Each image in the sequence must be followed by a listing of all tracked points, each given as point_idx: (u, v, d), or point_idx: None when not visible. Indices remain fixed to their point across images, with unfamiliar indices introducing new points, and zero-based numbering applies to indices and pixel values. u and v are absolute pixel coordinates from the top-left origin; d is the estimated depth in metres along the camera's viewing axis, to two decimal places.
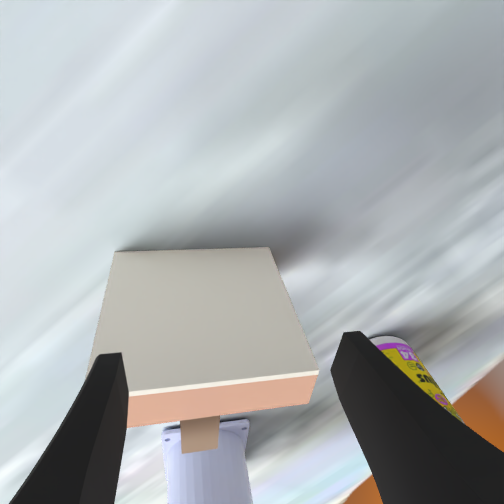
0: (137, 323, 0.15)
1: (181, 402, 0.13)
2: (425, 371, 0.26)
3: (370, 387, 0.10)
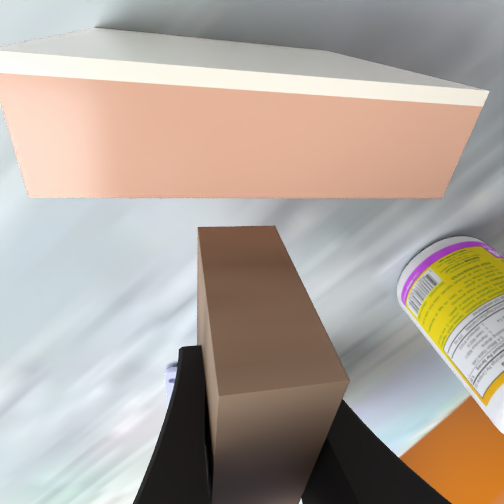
0: (126, 43, 0.08)
1: (216, 133, 0.06)
2: None
3: None
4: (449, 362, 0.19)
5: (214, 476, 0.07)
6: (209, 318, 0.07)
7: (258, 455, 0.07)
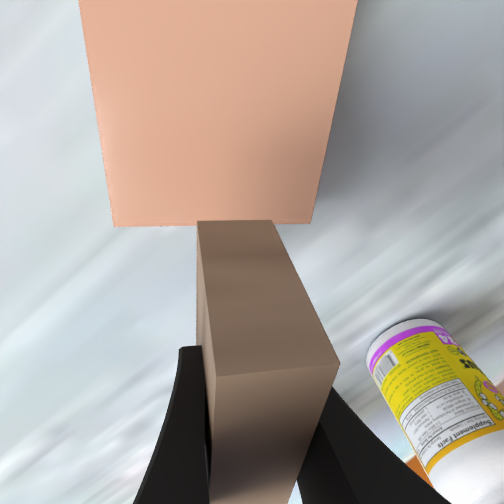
0: None
1: None
2: (467, 356, 0.23)
3: None
4: (404, 432, 0.23)
5: (212, 456, 0.08)
6: (207, 306, 0.08)
7: (254, 436, 0.08)
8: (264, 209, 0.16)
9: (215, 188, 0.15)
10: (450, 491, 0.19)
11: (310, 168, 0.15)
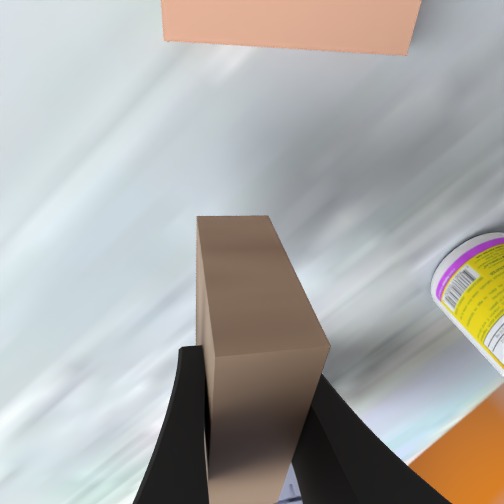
0: None
1: None
2: None
3: None
4: (489, 355, 0.19)
5: (211, 436, 0.08)
6: (207, 294, 0.08)
7: (250, 417, 0.08)
8: (353, 25, 0.12)
9: None
10: None
11: None
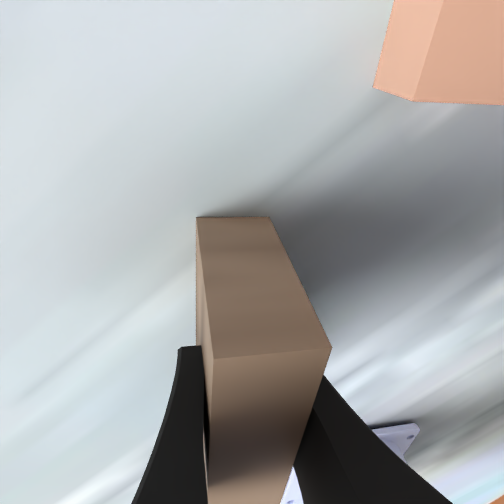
0: None
1: None
2: None
3: None
4: None
5: (210, 440, 0.08)
6: (205, 295, 0.08)
7: (250, 420, 0.08)
8: None
9: None
10: None
11: None
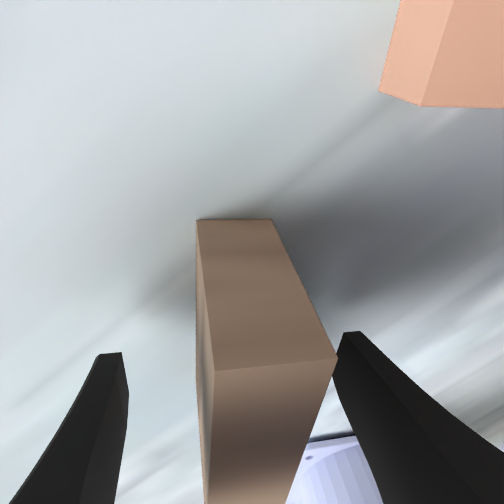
0: None
1: None
2: None
3: (370, 387, 0.10)
4: None
5: (211, 452, 0.08)
6: (206, 302, 0.08)
7: (252, 431, 0.08)
8: None
9: None
10: None
11: None
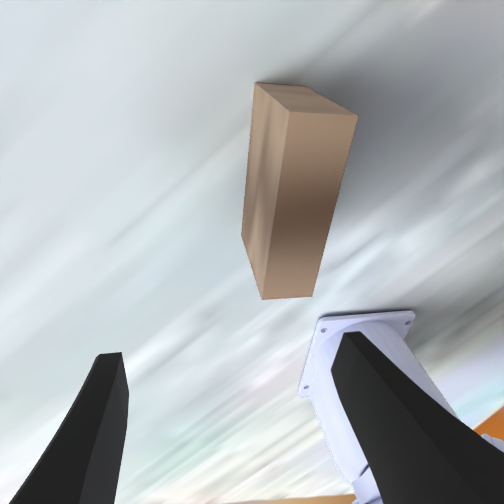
0: None
1: None
2: None
3: (369, 387, 0.10)
4: None
5: (277, 197, 0.12)
6: (275, 100, 0.12)
7: (303, 181, 0.12)
8: None
9: None
10: None
11: None
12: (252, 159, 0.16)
